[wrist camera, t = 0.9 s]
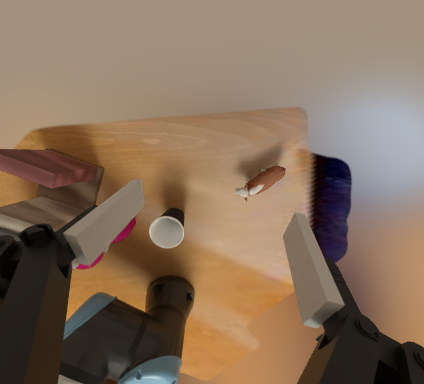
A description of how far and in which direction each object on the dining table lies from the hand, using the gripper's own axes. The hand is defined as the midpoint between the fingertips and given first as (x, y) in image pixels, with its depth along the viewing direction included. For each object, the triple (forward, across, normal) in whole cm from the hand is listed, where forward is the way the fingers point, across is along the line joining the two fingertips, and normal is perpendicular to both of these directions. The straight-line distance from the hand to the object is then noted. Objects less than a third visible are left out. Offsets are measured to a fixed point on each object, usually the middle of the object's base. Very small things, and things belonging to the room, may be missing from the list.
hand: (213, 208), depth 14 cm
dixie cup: (+24, +13, +24) cm, 36 cm away
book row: (+19, +41, +20) cm, 50 cm away
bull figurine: (+32, -8, +12) cm, 35 cm away
